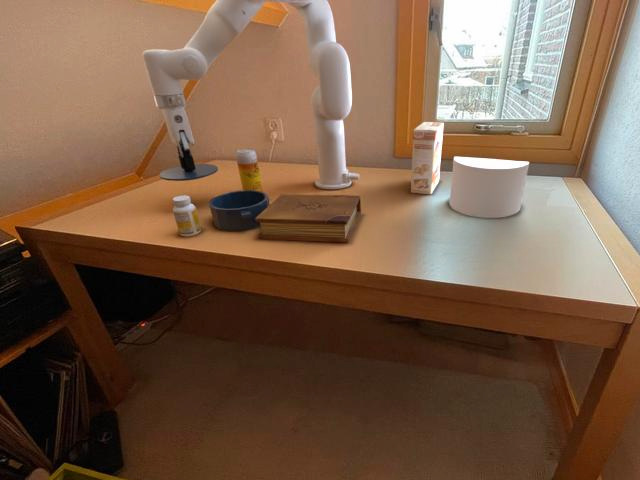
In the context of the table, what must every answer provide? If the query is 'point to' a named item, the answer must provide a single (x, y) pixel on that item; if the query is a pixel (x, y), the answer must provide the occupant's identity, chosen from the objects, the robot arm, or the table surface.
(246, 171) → the beer can
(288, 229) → the diary
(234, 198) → the pan
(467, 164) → the container
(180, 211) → the supplement bottle
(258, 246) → the table surface
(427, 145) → the coffeecake box
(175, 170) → the pan lid
